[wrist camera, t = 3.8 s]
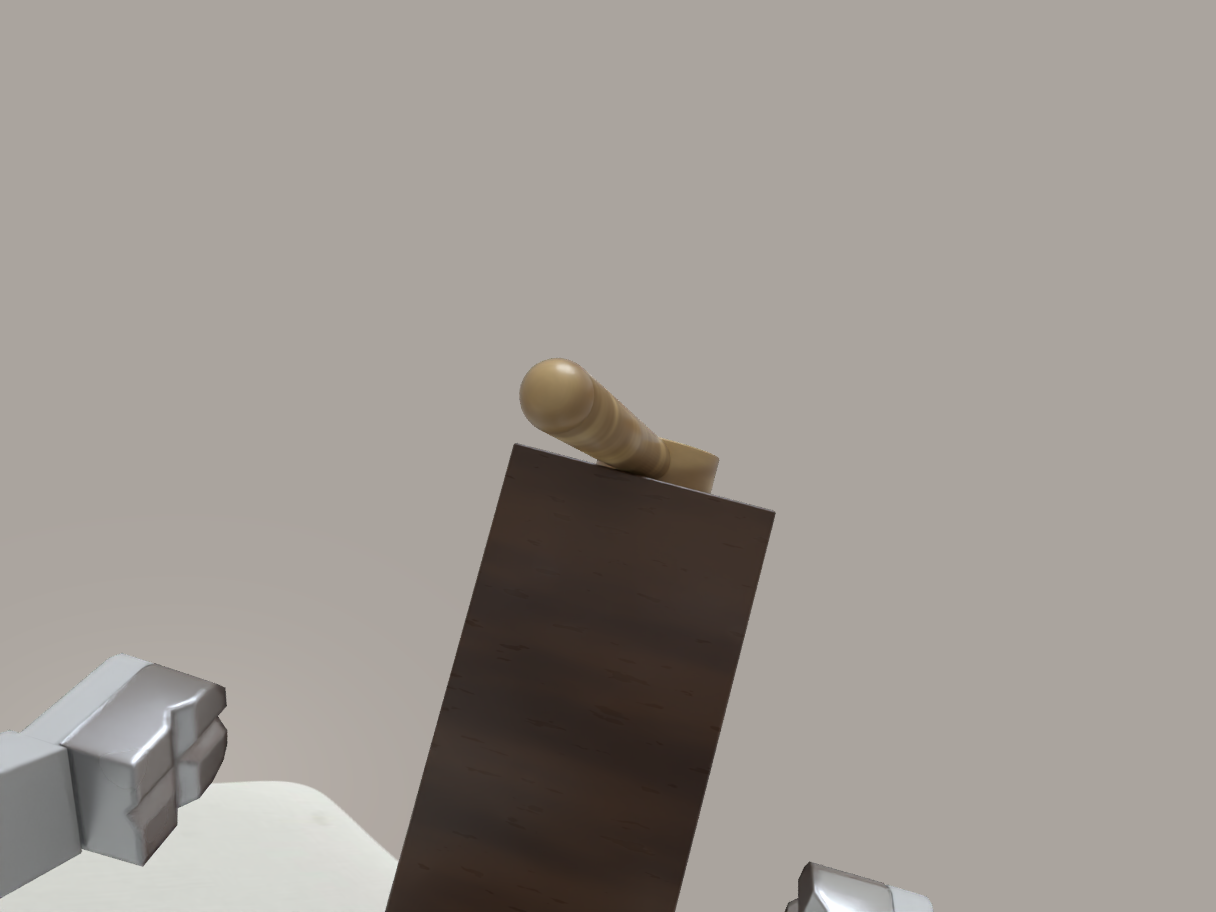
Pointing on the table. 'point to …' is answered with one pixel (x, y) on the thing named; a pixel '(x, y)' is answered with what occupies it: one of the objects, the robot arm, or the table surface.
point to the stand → (583, 695)
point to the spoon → (607, 427)
